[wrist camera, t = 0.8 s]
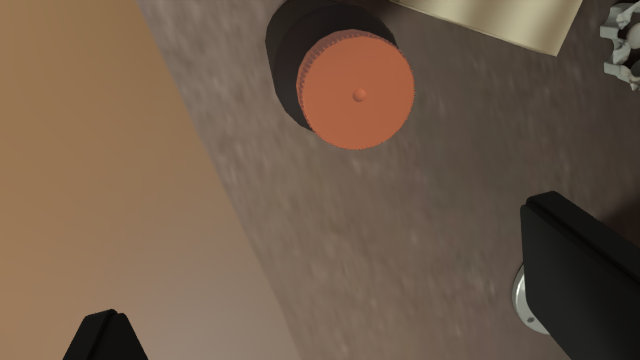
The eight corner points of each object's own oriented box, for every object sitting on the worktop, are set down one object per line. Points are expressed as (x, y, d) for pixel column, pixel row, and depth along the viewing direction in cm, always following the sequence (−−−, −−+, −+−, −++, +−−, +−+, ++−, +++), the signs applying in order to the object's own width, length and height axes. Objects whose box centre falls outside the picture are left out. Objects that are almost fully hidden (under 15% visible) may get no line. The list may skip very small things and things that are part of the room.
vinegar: (298, -23, 36) (346, -31, 18) (365, 32, 38) (470, 77, 20) (248, 50, 37) (244, 114, 19) (315, 99, 40) (369, 198, 21)
